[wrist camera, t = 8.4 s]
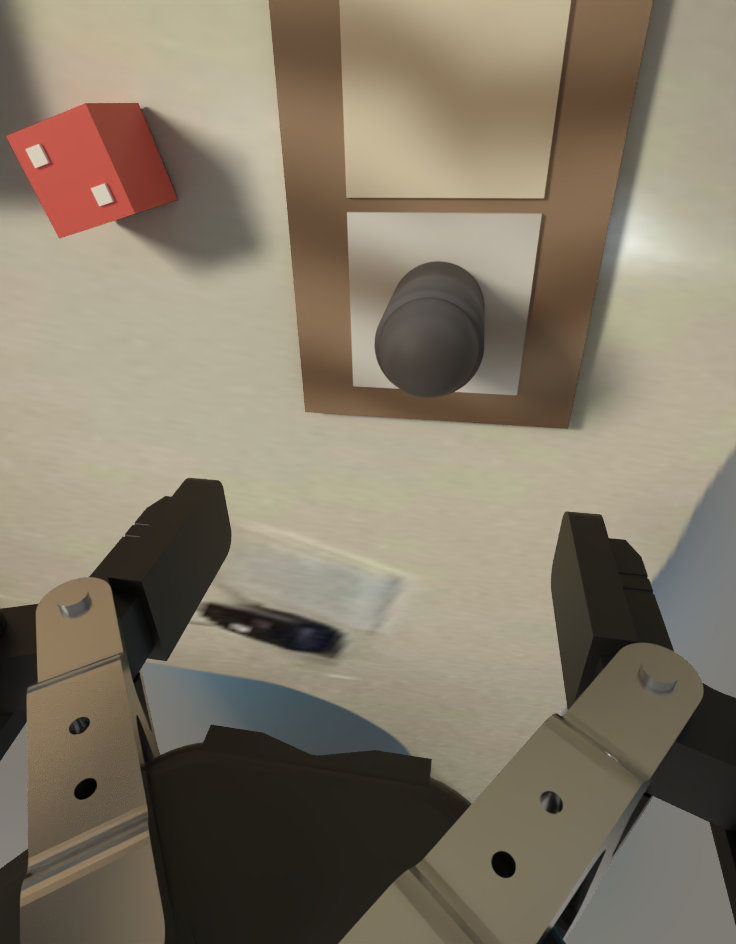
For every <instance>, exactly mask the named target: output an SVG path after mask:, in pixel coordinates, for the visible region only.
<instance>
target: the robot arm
mask: <svg viewBox="0 0 736 944" xmlns="http://www.w3.org/2000/svg"><path fill="white" fill-rule="evenodd" d="M230 545H231V527H230V522H229V516H228V511H227V505H226V500H225V495H224V489H223V486H222V484H221V482H220V481H218V480H208V479H196V478H187V479H186V480H185V481H184V482H183V483H182V484H181V486H180V487H179V488H178V489H177V491H176V492H175V493H174V495H173V496H172V497H169V496H165V497H163V498H162V499H160V500H159V501H157V502H156V503H154V504H152V505H151V506H149V507H148V508H147V509H146V510H145V511H144V512H143V513H142V514H141V516H140V517H139V518H138V519H137V520H136V522H135V525H132V526H131V528H130V529H129V530H128V531H127V532H126V534H125V537H122V538H121V540H120V541H119V542H118V543H117V544H116V546H115V547H114V548H113V549H112V550H111V551H110V553H109V554H108V555H107V556H106V557H105V559H104V560H103V561H102V562H101V563H100V565H99V566H98V567H97V568H96V569H95V571H94V572H93V573H92V574H91V575H90V577H85V578H78V579H74V580H71V581H68V582H65V583H63V584H61V585H59V586H57V587H56V588H54V589H53V590H51V591H50V592H49V593H47V594H46V595H45V596H44V597H43V599H42V600H41V601H40V603H39V604H33V605H26V606H18V607H11V608H3V609H1V608H0V760H1V759H2V758H3V756H4V755H5V753H6V752H7V750H8V749H9V747H10V746H11V744H12V743H13V741H14V740H15V738H16V737H17V735H18V734H19V732H20V731H21V729H22V728H23V726H24V725H25V724H26V722H27V774H28V775H27V776H28V777H27V782H28V849H27V850H25V851H24V852H23V853H21V854H20V855H19V856H17V857H16V858H15V859H13V860H12V861H10V862H9V863H8V864H6V865H5V866H4V867H2V868H1V869H0V944H566V943H565V942H564V941H565V939H566V938H567V936H568V935H569V933H570V931H571V930H572V928H573V927H574V925H575V923H576V922H577V920H578V918H579V917H580V916H581V914H582V912H583V911H584V909H585V908H586V906H587V904H588V902H589V901H590V899H591V897H592V896H593V894H594V892H595V890H596V888H597V887H598V885H599V883H600V881H601V879H602V878H603V876H604V874H605V872H606V871H607V869H608V867H609V866H610V864H611V863H612V861H613V859H614V858H615V856H616V855H617V853H618V852H619V850H620V848H621V847H622V845H623V844H624V842H625V840H626V839H627V837H628V836H629V834H630V832H631V831H632V829H633V828H634V826H635V825H636V823H637V822H638V820H639V818H640V817H641V815H642V814H643V812H644V810H645V809H646V807H647V806H648V804H649V803H650V801H651V799H652V798H653V796H655V797H657V798H659V799H661V800H663V801H665V802H667V803H670V804H672V805H674V806H676V807H678V808H680V809H682V810H685V811H687V812H689V813H691V814H694V815H696V816H698V817H700V818H702V819H704V820H706V821H708V822H710V826H711V830H712V833H713V838H714V842H715V846H716V849H717V853H718V857H719V861H720V865H721V869H722V873H723V877H724V881H725V885H726V889H727V893H728V897H729V901H730V905H731V908H732V913H733V916H734V920H735V924H736V698H734V697H731V696H728V695H725V694H723V693H721V692H718V691H716V690H714V689H712V688H710V687H708V686H707V685H705V684H704V683H702V680H701V678H700V676H699V675H698V673H697V671H696V670H695V669H694V667H693V666H692V665H691V664H690V663H689V662H688V661H687V660H685V659H684V658H683V657H681V656H680V655H678V654H677V653H675V652H674V650H673V647H672V644H671V641H670V638H669V636H668V633H667V630H666V627H665V624H664V621H663V618H662V615H661V612H660V610H659V607H658V604H657V601H656V598H655V595H654V594H653V589H652V587H651V584H650V581H649V579H647V576H648V575H647V572H646V569H645V566H644V563H643V561H642V558H641V556H640V555H639V554H638V553H637V552H636V551H635V550H634V549H633V548H632V546H631V545H630V544H629V543H628V542H627V541H626V540H621V539H611V538H608V534H607V531H606V527H605V524H604V520H603V517H602V515H600V514H588V513H577V512H565V513H564V515H563V518H562V523H561V527H560V532H559V537H558V541H557V546H556V551H555V555H554V560H553V565H552V573H551V591H552V599H553V606H554V613H555V621H556V628H557V635H558V643H559V650H560V657H561V664H562V672H563V679H564V686H565V693H566V701H567V708H568V711H567V712H566V713H565V714H564V715H563V716H560V715H558V714H557V713H556V714H553V715H551V716H550V717H549V718H548V719H547V720H546V721H545V722H544V723H543V724H542V725H541V726H540V727H539V728H538V730H537V731H536V732H535V733H534V734H533V735H532V736H531V738H530V739H529V740H528V741H527V742H526V743H525V744H524V745H523V747H522V748H521V749H520V750H519V751H518V752H517V753H516V755H515V756H514V757H513V758H512V759H511V760H510V761H509V762H508V764H507V765H506V766H505V767H504V768H503V769H502V770H501V772H500V773H499V774H498V775H497V776H496V777H495V778H494V779H493V781H492V782H491V783H490V784H489V785H488V786H487V787H486V789H485V790H484V791H483V792H482V793H481V794H480V795H479V796H478V798H477V799H476V800H475V801H474V802H473V803H472V804H471V803H470V802H469V801H468V800H467V799H466V798H464V797H463V796H462V795H460V794H459V793H458V792H457V791H455V790H454V789H452V788H450V787H449V786H447V785H445V784H444V783H442V782H440V781H438V780H435V779H433V778H431V777H430V772H431V760H432V759H428V758H421V757H415V756H408V755H402V754H395V753H389V752H382V751H376V750H374V751H362V752H352V753H341V754H331V755H318V756H316V755H311V754H308V753H306V752H304V751H301V750H300V749H297V748H295V747H293V746H291V745H289V744H286V743H284V742H282V741H280V740H278V739H275V738H273V737H271V736H269V735H267V734H264V733H261V732H254V731H248V730H242V729H235V728H229V727H222V726H216V725H211V726H210V728H209V731H208V733H207V735H206V737H205V740H204V742H203V743H196V744H191V745H187V746H183V747H180V748H177V749H174V750H171V751H169V752H167V753H165V754H162V755H160V752H159V749H158V745H157V740H156V736H155V731H154V727H153V723H152V718H151V713H150V708H149V704H148V699H147V695H146V690H145V685H144V680H143V677H142V674H141V671H140V669H141V668H142V666H143V664H144V663H145V661H146V659H147V658H148V659H156V660H163V661H167V660H168V658H169V656H170V655H171V653H172V651H173V649H174V648H175V646H176V644H177V642H178V641H179V639H180V637H181V635H182V634H183V632H184V630H185V628H186V627H187V625H188V623H189V621H190V620H191V618H192V616H193V614H194V613H195V611H196V609H197V607H198V606H199V604H200V602H201V600H202V599H203V597H204V595H205V593H206V592H207V590H208V588H209V586H210V585H211V583H212V581H213V579H214V578H215V576H216V574H217V572H218V571H219V569H220V567H221V565H222V564H223V562H224V560H225V558H226V557H227V555H228V552H229V549H230Z"/></svg>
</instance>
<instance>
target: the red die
mask: <svg viewBox="0 0 736 944" xmlns="http://www.w3.org/2000/svg"><path fill="white" fill-rule="evenodd" d="M6 138H7V139H8V141H9V143H10V145H11V147H12V149H13V151H14V153H15V155H16V157H17V159H18V160H19V162H20V164H21V166H22V168H23V170H24V172H25V174H26V176H27V178H28V180H29V181H30V183H31V185H32V187H33V189H34V191H35V193H36V195H37V197H38V199H39V201H40V203H41V204H42V206H43V208H44V210H45V212H46V214H47V216H48V218H49V220H50V222H51V224H52V225H53V227H54V229H55V231H56V233H57V235H58V237H59V238H62V237H65V236H68V235H72V234H75V233H78V232H81V231H84V230H87V229H90V228H93V227H96V226H99V225H102V224H106V223H109V222H112V221H115V220H118V219H121V218H124V217H127V216H130V215H133V214H136V213H139V212H142V211H145V210H148V209H151V208H154V207H157V206H160V205H163V204H166V203H169V202H172V201H175V200H178V199H177V196H176V194H175V191H174V189H173V186H172V184H171V182H170V179H169V177H168V174H167V172H166V169H165V167H164V165H163V162H162V160H161V157H160V155H159V152H158V150H157V147H156V145H155V143H154V140H153V138H152V135H151V133H150V130H149V128H148V126H147V123H146V121H145V118H144V116H143V113H142V111H141V109H140V106H139V104H138V103H85V104H83V105H80V106H78V107H75V108H73V109H71V110H68V111H66V112H63V113H61V114H58V115H56V116H54V117H51V118H49V119H46V120H44V121H41V122H39V123H37V124H34V125H32V126H29V127H27V128H24V129H22V130H20V131H17V132H15V133H12V134H10V135H7V136H6Z"/></svg>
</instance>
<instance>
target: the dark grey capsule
mask: <svg viewBox="0 0 736 944" xmlns="http://www.w3.org/2000/svg"><path fill="white" fill-rule="evenodd" d="M484 307H485V305H484V298H483V294H482V291H481V288H480V286H479V284H478V283H477V281H476V280H475V279H474V277H473V276H472V275H471V274H470V273H469V272H468V271H466V270H465V269H463V268H462V267H460V266H458V265H455V264H453V263H449V262H442V261H435V262H428V263H425V264H421V265H419V266H417V267H415V268H414V269H412V270H410V271H409V272H408V273H407V274H406V275H405V276H404V277H403V278H402V279H401V280H400V282H399V283H398V285H397V287H396V289H395V291H394V293H393V295H392V297H391V299H390V301H389V304H388V306H387V308H386V310H385V312H384V314H383V316H382V318H381V320H380V322H379V325H378V327H377V330H376V334H375V343H374V347H375V355H376V359H377V362H378V364H379V366H380V368H381V370H382V372H383V373H384V375H385V376H386V377H387V379H388V380H389V381H390V382H391V383H392V384H394V385H395V386H396V387H398V388H399V389H401V390H402V391H404V392H406V393H408V394H411V395H413V396H417V397H424V398H432V397H440V396H444V395H448V394H450V393H453V392H455V391H457V390H459V389H460V388H462V387H463V386H465V385H466V384H467V383H468V382H469V381H470V380H471V379H472V378H473V376H474V375H475V374H476V372H477V371H478V369H479V367H480V365H481V362H482V359H483V354H484Z"/></svg>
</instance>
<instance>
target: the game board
mask: <svg viewBox="0 0 736 944" xmlns="http://www.w3.org/2000/svg"><path fill="white" fill-rule="evenodd" d="M652 3H653V0H269V7H270V18H271V30H272V41H273V52H274V64H275V75H276V86H277V98H278V109H279V120H280V131H281V143H282V154H283V165H284V177H285V188H286V199H287V211H288V222H289V233H290V245H291V256H292V267H293V278H294V290H295V301H296V312H297V324H298V335H299V346H300V358H301V369H302V380H303V391H304V403H305V412H314V413H330V414H346V415H361V416H377V417H393V418H409V419H424V420H440V421H456V422H472V423H487V424H503V425H519V426H535V427H550V428H566V429H568V426H569V421H570V416H571V411H572V406H573V401H574V396H575V391H576V386H577V381H578V376H579V371H580V366H581V361H582V356H583V351H584V346H585V341H586V335H587V330H588V325H589V320H590V315H591V310H592V305H593V300H594V295H595V290H596V285H597V280H598V275H599V270H600V265H601V260H602V255H603V250H604V245H605V240H606V235H607V230H608V225H609V220H610V215H611V210H612V205H613V200H614V194H615V189H616V184H617V179H618V174H619V169H620V164H621V159H622V154H623V149H624V144H625V139H626V134H627V129H628V124H629V119H630V114H631V109H632V104H633V99H634V94H635V89H636V84H637V79H638V74H639V69H640V64H641V59H642V53H643V48H644V43H645V38H646V33H647V28H648V23H649V18H650V13H651V8H652ZM435 261H442V262H449V263H453V264H455V265H458V266H460V267H462V268H463V269H465V270H466V271H468V272H469V273H470V274H471V275H472V276H473V277H474V279H475V280H476V281H477V283H478V284H479V286H480V288H481V291H482V294H483V298H484V305H485V307H484V354H483V359H482V362H481V365H480V367H479V369H478V371H477V372H476V374H475V375H474V376H473V378H472V379H471V380H470V381H469V382H468V383H467V384H466V385H465V386H463V387H462V388H460V389H459V390H457V391H455V392H453V393H450V394H448V395H444V396H440V397H432V398H424V397H417V396H413V395H411V394H408V393H406V392H404V391H402V390H401V389H399V388H398V387H396V386H395V385H394V384H392V383H391V382H390V381H389V380H388V379H387V377H386V376H385V375H384V373H383V372H382V370H381V368H380V366H379V364H378V362H377V359H376V355H375V347H374V343H375V334H376V330H377V327H378V325H379V322H380V320H381V318H382V316H383V314H384V312H385V310H386V308H387V306H388V304H389V301H390V299H391V297H392V295H393V293H394V291H395V289H396V287H397V285H398V283H399V282H400V280H401V279H402V278H403V277H404V276H405V275H406V274H407V273H408V272H409V271H410V270H412V269H414V268H415V267H417V266H419V265H421V264H425V263H428V262H435Z"/></svg>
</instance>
